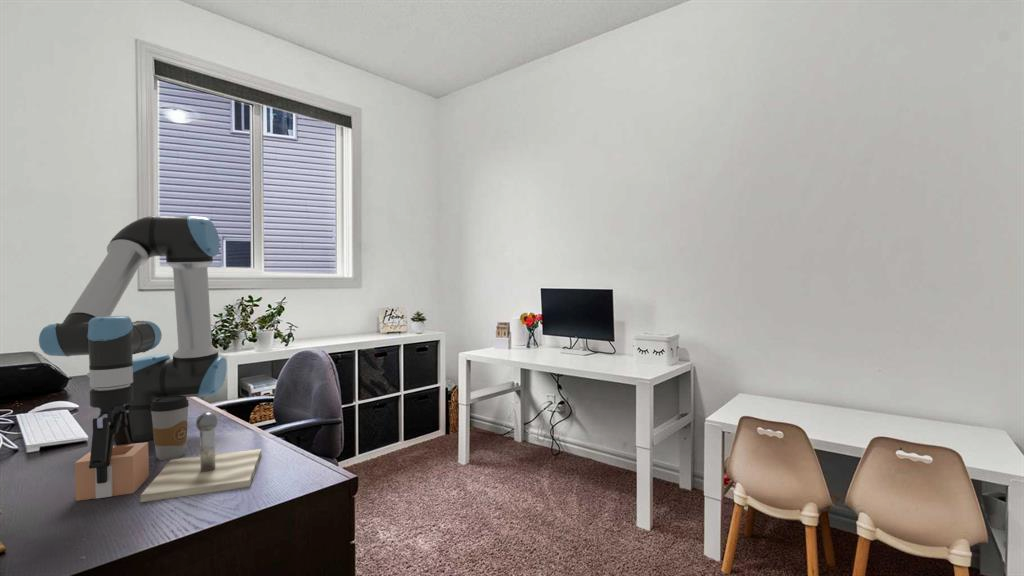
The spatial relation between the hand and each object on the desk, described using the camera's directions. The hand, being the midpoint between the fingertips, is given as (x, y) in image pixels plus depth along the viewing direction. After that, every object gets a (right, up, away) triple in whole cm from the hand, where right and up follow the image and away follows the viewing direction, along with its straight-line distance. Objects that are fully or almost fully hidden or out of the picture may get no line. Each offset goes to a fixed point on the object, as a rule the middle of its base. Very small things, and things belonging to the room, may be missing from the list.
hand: (114, 487), depth 110 cm
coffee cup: (-1, 0, +20) cm, 20 cm away
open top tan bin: (0, 0, 0) cm, 0 cm away
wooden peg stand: (+17, 0, +6) cm, 18 cm away
